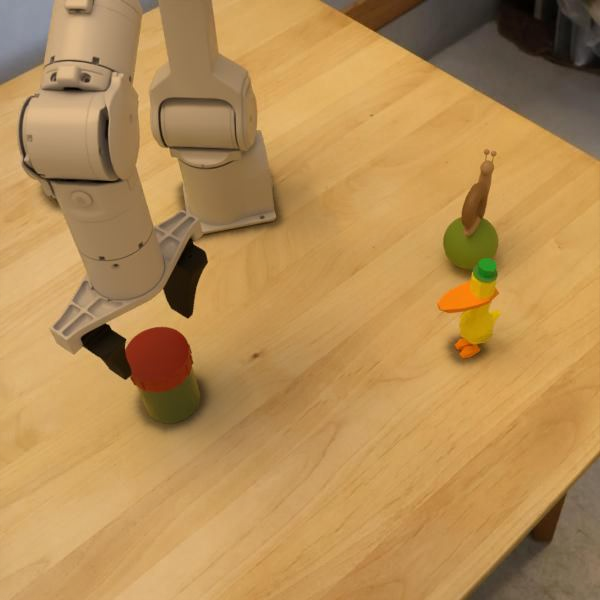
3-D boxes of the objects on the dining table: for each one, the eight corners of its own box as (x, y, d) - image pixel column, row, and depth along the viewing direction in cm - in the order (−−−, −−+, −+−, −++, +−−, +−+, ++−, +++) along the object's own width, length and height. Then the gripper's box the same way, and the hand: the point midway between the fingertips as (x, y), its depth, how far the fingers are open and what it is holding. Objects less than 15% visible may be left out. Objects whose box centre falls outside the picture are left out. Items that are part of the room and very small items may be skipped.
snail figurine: (504, 242, 89) (519, 155, 80) (486, 286, 85) (499, 201, 76) (454, 228, 91) (463, 142, 81) (434, 271, 87) (441, 186, 78)
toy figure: (442, 375, 79) (451, 295, 70) (425, 347, 81) (431, 265, 72) (506, 351, 81) (524, 268, 71) (487, 323, 83) (502, 240, 73)
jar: (196, 371, 82) (183, 327, 76) (203, 417, 78) (190, 374, 73) (142, 382, 81) (125, 338, 76) (147, 428, 78) (129, 386, 72)
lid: (189, 333, 77) (185, 320, 76) (196, 385, 74) (193, 373, 72) (126, 345, 77) (121, 333, 75) (130, 399, 73) (125, 387, 72)
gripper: (143, 153, 67) (175, 266, 77) (1, 271, 60) (57, 377, 71) (210, 188, 64) (234, 301, 74) (69, 316, 57) (117, 419, 68)
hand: (152, 340), depth 72 cm, fingers open, 7 cm apart
